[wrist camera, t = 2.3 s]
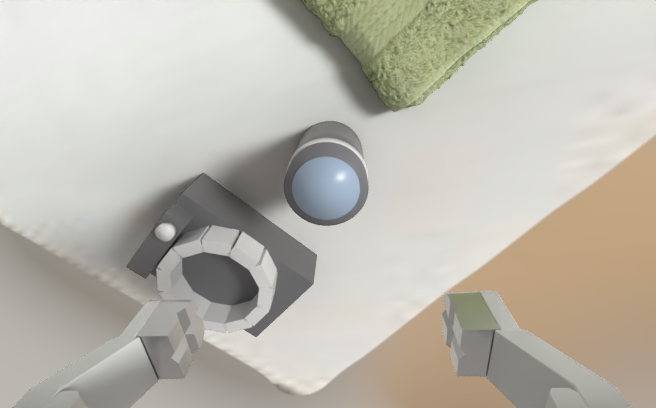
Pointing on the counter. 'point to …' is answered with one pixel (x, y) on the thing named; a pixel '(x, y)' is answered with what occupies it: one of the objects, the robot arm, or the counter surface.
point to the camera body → (224, 260)
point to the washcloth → (413, 39)
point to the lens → (327, 175)
